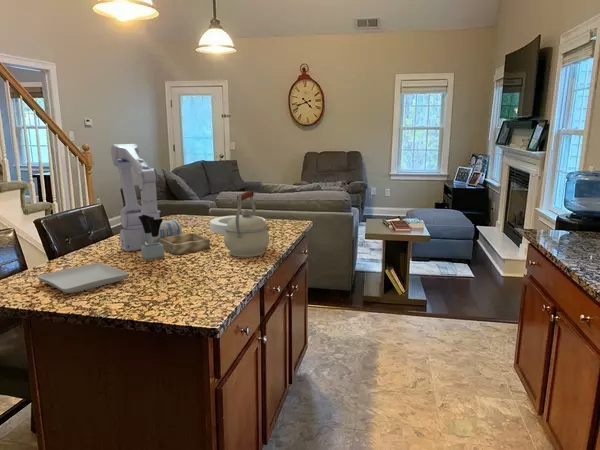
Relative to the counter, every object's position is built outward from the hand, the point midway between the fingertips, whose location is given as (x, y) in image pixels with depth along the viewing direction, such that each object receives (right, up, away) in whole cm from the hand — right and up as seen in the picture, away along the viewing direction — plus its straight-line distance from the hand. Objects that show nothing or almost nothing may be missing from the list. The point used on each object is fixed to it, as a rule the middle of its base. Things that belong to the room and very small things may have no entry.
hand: (151, 234), depth 174 cm
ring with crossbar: (+26, +1, +54) cm, 60 cm away
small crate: (0, -9, +2) cm, 9 cm away
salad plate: (-13, -16, -27) cm, 34 cm away
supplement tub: (+1, +2, +29) cm, 29 cm away
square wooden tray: (+9, -6, +16) cm, 19 cm away
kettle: (+37, -7, +10) cm, 39 cm away
